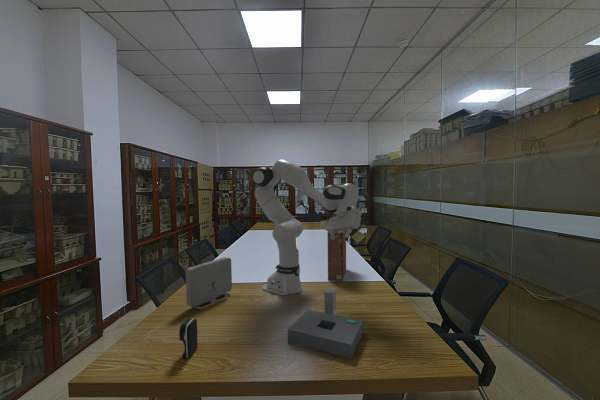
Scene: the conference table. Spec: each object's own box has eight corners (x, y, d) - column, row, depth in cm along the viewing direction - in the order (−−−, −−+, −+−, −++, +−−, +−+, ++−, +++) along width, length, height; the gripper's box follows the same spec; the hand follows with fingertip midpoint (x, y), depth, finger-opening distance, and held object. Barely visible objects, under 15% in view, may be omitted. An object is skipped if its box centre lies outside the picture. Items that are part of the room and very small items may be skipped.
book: (333, 268, 193) (332, 226, 192) (346, 269, 191) (346, 226, 189) (327, 280, 168) (327, 232, 167) (342, 281, 166) (342, 232, 165)
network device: (194, 312, 127) (193, 270, 126) (183, 308, 132) (181, 267, 131) (235, 294, 149) (234, 257, 148) (223, 291, 153) (222, 255, 152)
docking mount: (288, 342, 102) (287, 328, 101) (307, 320, 118) (307, 308, 118) (351, 359, 91) (351, 343, 91) (363, 332, 108) (363, 319, 107)
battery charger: (188, 346, 100) (187, 316, 99) (198, 347, 99) (197, 316, 99) (178, 359, 93) (177, 326, 92) (189, 359, 92) (188, 326, 92)
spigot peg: (324, 318, 120) (324, 291, 119) (327, 314, 123) (327, 288, 123) (333, 320, 118) (333, 293, 118) (336, 316, 122) (335, 289, 121)
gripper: (327, 213, 143) (320, 237, 137) (355, 206, 127) (349, 233, 121) (335, 219, 146) (329, 242, 140) (364, 212, 130) (359, 239, 124)
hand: (338, 238), depth 130 cm, fingers open, 8 cm apart
